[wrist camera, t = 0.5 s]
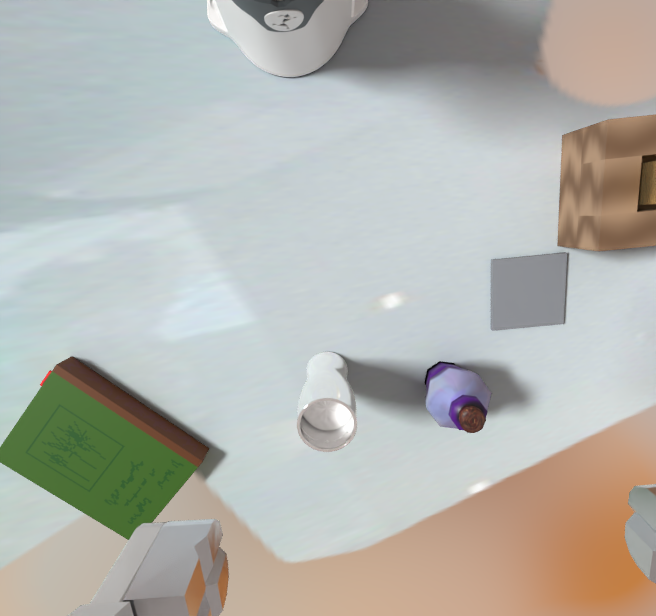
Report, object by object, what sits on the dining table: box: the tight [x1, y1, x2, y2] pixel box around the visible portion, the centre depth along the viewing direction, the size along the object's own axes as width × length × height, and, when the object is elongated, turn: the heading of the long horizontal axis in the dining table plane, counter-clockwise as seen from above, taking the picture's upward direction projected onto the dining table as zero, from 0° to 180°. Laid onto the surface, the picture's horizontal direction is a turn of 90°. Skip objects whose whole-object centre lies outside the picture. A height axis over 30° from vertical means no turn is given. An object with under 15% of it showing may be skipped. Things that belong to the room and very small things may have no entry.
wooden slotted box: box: [558, 115, 656, 251], centre depth 46 cm, size 14×14×8 cm
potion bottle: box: [425, 362, 492, 433], centre depth 50 cm, size 9×9×12 cm
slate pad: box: [491, 252, 567, 330], centre depth 53 cm, size 10×10×1 cm
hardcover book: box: [0, 357, 209, 540], centre depth 57 cm, size 25×19×4 cm
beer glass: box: [297, 352, 357, 452], centre depth 48 cm, size 7×7×15 cm
